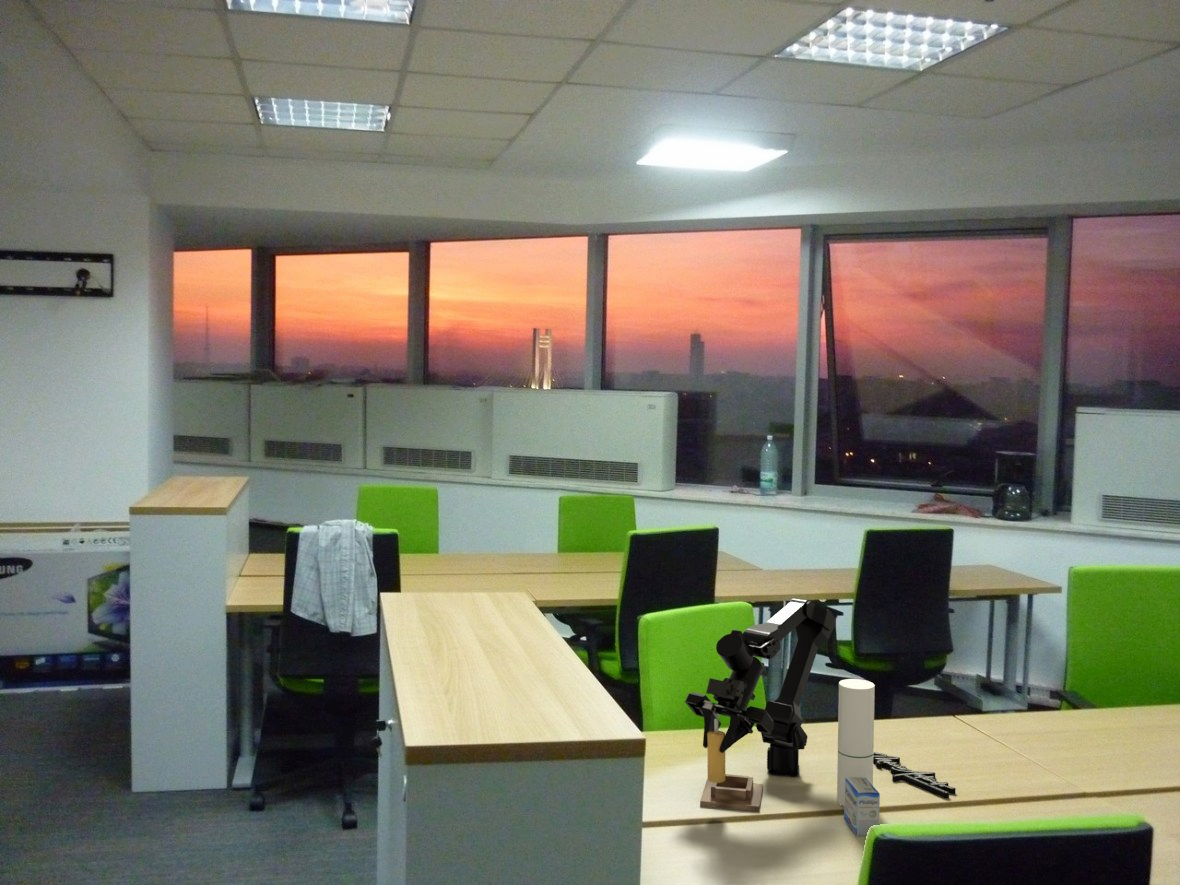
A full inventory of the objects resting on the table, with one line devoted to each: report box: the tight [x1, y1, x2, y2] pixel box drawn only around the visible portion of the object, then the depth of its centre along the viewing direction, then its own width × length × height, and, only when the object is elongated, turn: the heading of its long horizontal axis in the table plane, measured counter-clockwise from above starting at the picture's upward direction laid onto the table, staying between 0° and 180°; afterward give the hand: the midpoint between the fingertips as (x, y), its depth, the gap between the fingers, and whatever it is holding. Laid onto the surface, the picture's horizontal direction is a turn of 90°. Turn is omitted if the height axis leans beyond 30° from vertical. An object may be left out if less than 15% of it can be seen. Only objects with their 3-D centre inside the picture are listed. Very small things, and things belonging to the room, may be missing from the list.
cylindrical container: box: [836, 678, 876, 807], centre depth 214 cm, size 7×7×25 cm
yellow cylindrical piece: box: [706, 718, 726, 783], centre depth 210 cm, size 4×4×12 cm
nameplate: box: [873, 751, 957, 800], centre depth 230 cm, size 28×2×10 cm
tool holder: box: [699, 773, 764, 812], centre depth 218 cm, size 12×12×3 cm
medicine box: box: [843, 777, 881, 837], centre depth 203 cm, size 8×4×9 cm, turn 5°
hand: (712, 749), depth 209 cm, fingers closed on yellow cylindrical piece, 4 cm apart
